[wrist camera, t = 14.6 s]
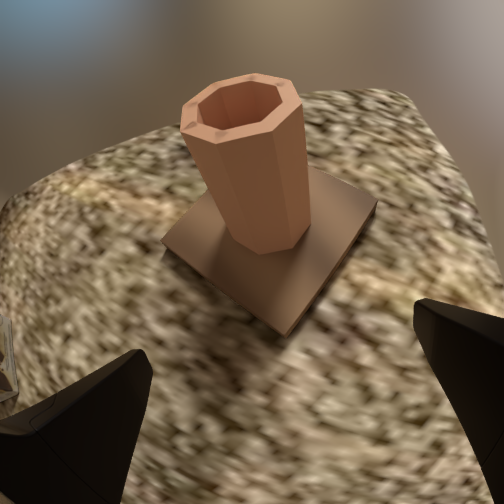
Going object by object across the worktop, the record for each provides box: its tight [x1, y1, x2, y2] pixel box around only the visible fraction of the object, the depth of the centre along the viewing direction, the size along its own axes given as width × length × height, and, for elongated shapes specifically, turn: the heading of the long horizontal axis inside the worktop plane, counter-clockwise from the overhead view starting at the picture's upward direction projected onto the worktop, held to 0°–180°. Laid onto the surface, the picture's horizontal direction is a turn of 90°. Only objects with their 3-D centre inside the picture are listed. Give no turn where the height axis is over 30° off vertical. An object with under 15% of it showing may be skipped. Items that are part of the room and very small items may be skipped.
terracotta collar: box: [180, 73, 311, 255], centre depth 17 cm, size 6×6×10 cm
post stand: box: [160, 165, 378, 338], centre depth 20 cm, size 12×12×5 cm
